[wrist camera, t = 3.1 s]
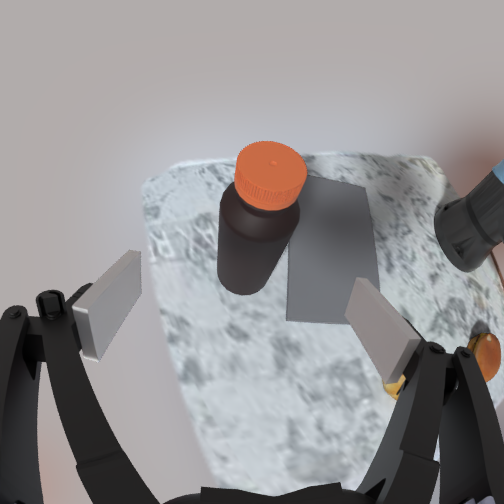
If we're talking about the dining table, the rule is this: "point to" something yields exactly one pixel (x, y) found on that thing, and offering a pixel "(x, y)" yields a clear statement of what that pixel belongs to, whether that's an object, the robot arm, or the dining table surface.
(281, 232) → the vinegar
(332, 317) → the mat
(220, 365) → the dining table surface
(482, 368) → the burger
